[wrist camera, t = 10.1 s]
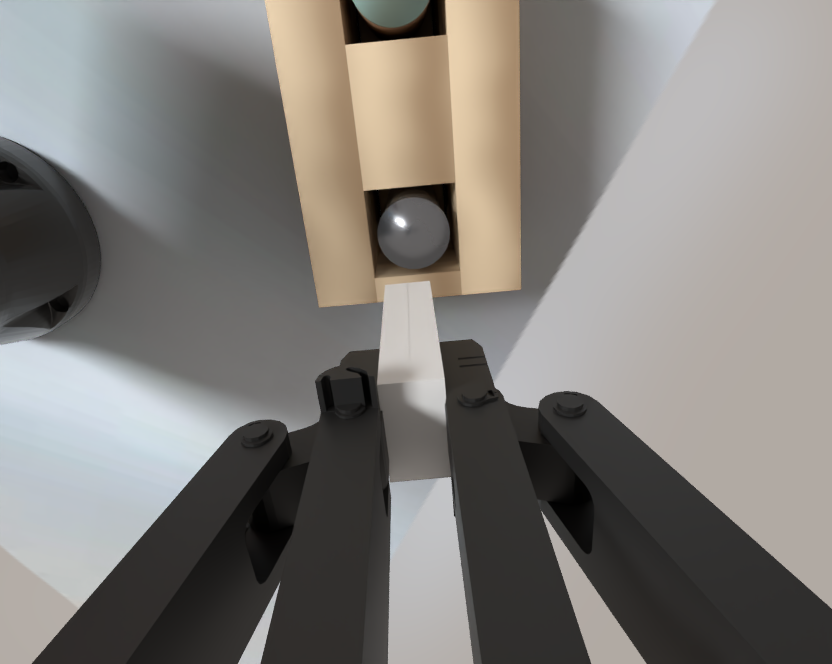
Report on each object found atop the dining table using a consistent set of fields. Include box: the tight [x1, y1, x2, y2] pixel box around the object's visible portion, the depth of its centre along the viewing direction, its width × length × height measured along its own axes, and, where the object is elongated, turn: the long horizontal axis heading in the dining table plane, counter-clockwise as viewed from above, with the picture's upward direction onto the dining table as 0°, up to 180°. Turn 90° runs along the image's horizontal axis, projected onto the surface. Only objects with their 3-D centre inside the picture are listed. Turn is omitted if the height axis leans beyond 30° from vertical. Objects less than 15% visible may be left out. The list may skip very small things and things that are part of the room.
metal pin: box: [377, 185, 450, 269], centre depth 33 cm, size 4×4×9 cm
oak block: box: [265, 0, 521, 308], centre depth 32 cm, size 12×20×10 cm, turn 5°
